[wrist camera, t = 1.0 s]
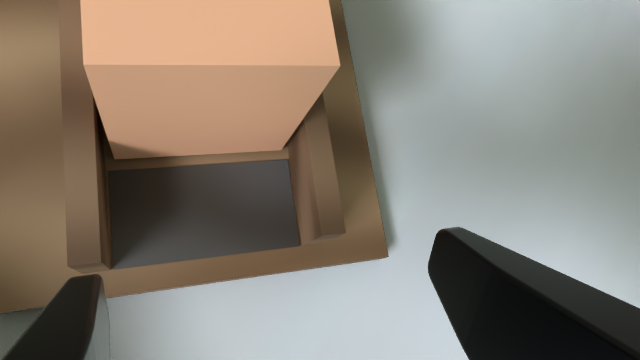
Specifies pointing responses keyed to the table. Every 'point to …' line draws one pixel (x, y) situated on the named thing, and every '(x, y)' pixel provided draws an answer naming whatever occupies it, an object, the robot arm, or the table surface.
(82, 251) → the tray
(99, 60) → the slider block
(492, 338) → the robot arm
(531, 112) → the table surface
